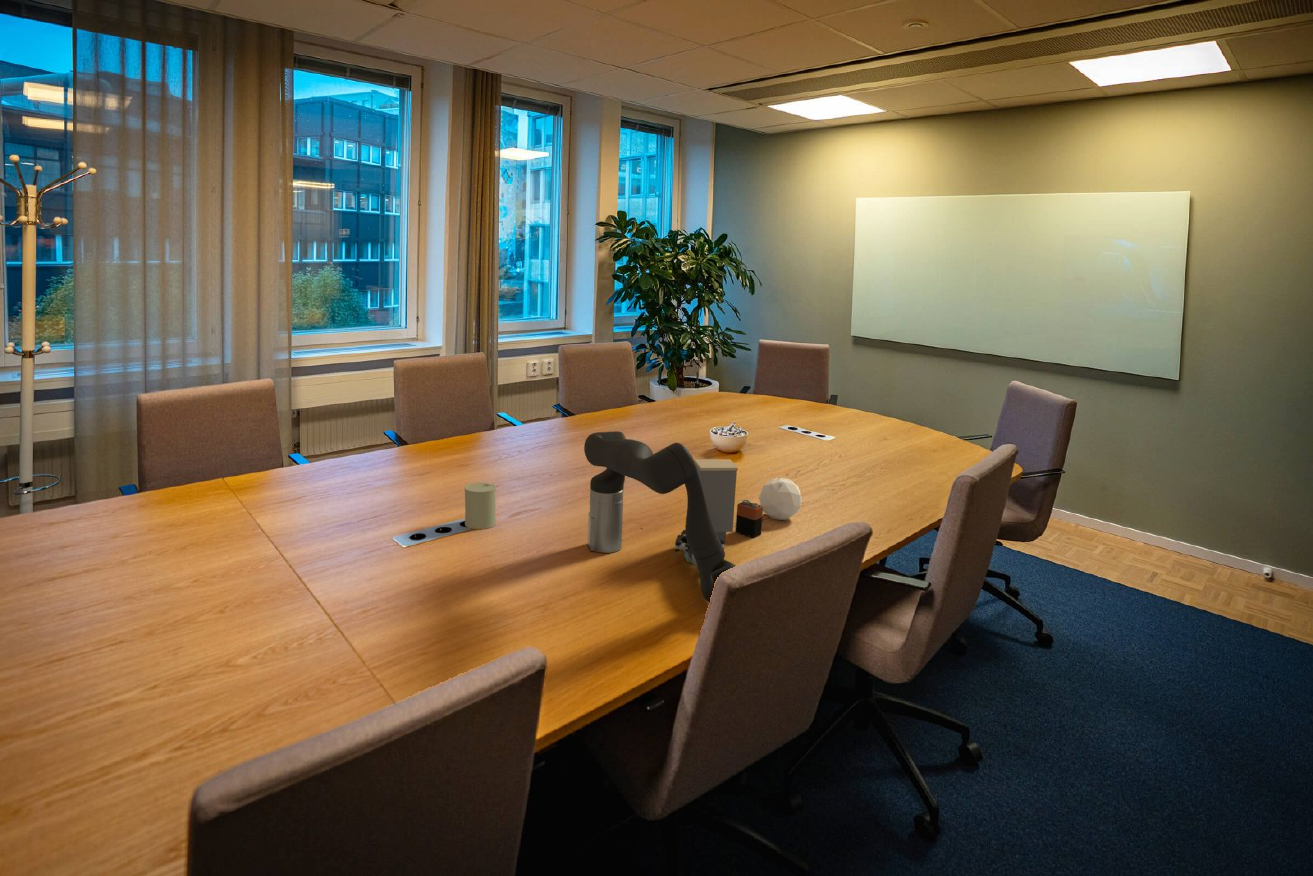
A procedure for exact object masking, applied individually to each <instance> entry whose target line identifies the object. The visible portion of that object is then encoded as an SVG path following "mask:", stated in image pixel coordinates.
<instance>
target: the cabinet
mask: <svg viewBox="0 0 1313 876" xmlns="http://www.w3.org/2000/svg"><path fill="white" fill-rule="evenodd" d="M693 460H694V462H695V464H696V467H697V470H698V474H699V477H700V481H701V484H702V488H703V491H704V495H705V499H706V503H707V507H708V511H709V514H710V517H711V520H712V523H713V526H714V528H715V531H716V533H717V535H718V537H719V538H721V539H723V540H724V541H725V543H726V542H727V541H726V540H727V539H726V537H727V533H734V532H733V531H734V518H735V516H734V515H735V505H736V504H735V503H736V486H737V473H738V470H739V467H738V466H737V465H736V464H735V463H734V462H733V461H732V460H731V459H730V458H728V459H727V458H726V459H720V458H719V459H715V458H714V459H712V458H711V459H709V458H708V459H693Z"/></svg>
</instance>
